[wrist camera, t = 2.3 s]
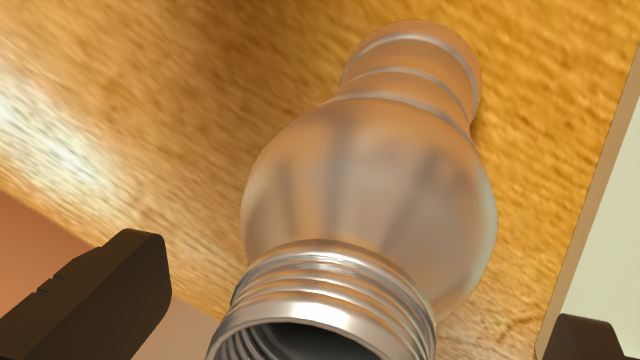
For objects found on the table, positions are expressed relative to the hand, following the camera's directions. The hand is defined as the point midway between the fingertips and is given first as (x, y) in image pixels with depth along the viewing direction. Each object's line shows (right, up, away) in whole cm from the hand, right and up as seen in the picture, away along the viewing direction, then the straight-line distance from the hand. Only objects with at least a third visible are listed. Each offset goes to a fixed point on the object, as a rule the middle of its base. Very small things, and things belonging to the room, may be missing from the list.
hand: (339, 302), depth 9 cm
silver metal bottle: (+5, +8, +15) cm, 18 cm away
